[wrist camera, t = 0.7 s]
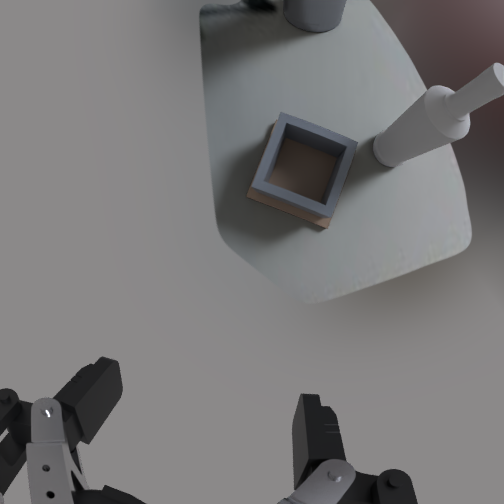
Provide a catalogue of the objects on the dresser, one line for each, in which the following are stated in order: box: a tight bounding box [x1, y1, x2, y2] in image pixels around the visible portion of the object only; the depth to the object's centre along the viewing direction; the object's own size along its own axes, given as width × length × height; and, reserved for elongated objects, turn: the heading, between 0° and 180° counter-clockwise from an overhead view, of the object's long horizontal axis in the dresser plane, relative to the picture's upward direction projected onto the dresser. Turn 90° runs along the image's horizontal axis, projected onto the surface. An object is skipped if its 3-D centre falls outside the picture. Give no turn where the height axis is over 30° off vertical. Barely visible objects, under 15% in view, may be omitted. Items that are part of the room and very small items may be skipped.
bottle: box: [373, 63, 504, 167], centre depth 22 cm, size 5×5×25 cm
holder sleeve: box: [246, 112, 358, 229], centre depth 33 cm, size 11×11×7 cm
